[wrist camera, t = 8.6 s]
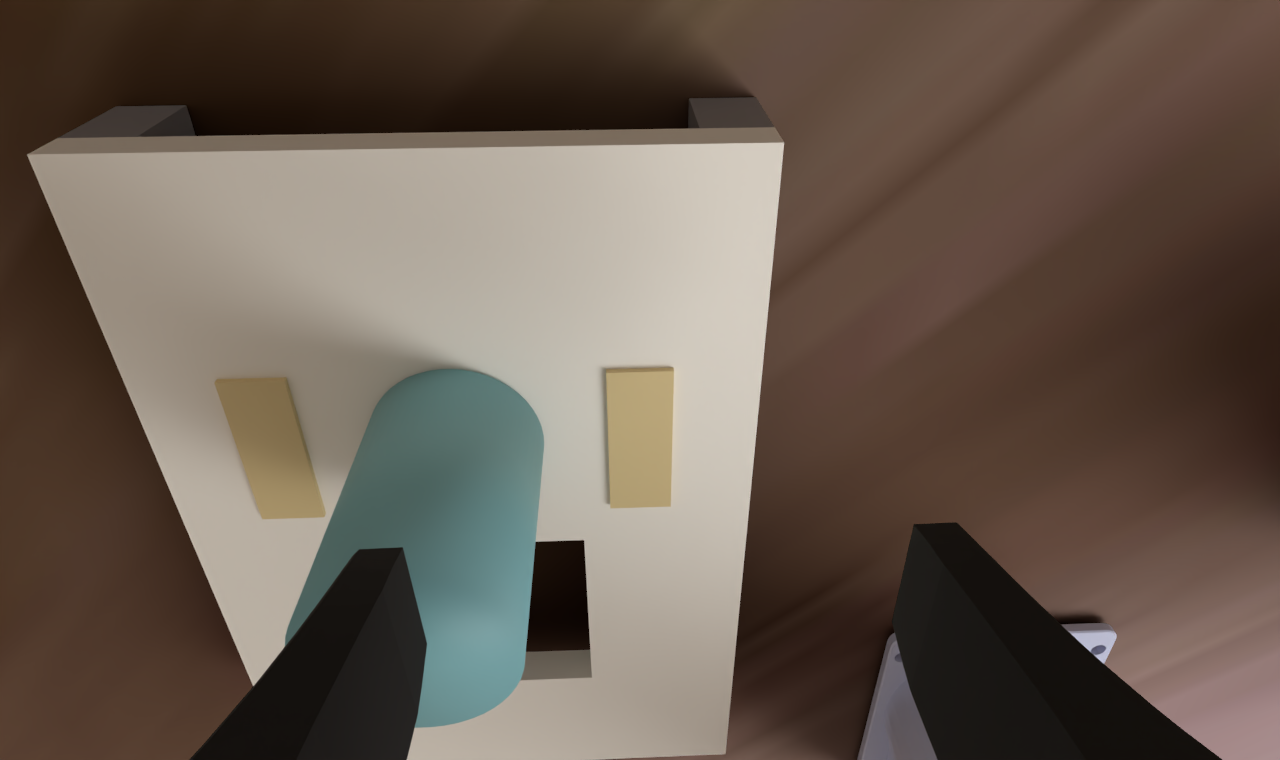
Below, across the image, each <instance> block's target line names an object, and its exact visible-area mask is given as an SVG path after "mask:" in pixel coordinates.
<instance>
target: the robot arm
mask: <svg viewBox="0 0 1280 760" xmlns="http://www.w3.org/2000/svg"><path fill="white" fill-rule="evenodd" d="M892 624H893V628H894V632H895V633H893V634H892V635H891V636H890V637H889V638H888V640H887V644H886V648H885V652H884V656H883V660H882V664H881V668H880V672H879V676H878V680H877V683H876V687H875V691H874V695H873V699H872V703H871V707H870V711H869V715H868V719H867V723H866V727H865V731H864V735H863V739H862V743H861V747H860V751H859V755H858V759H857V760H1222V759H1221V758H1219V757H1218V756H1217V755H1215V754H1214V753H1213V752H1211V751H1210V750H1209V749H1207V748H1206V747H1205V746H1203V745H1202V744H1201V743H1200V742H1198V741H1197V740H1196V739H1194V738H1193V737H1192V736H1190V735H1189V734H1188V733H1186V732H1185V731H1184V730H1182V729H1181V728H1180V727H1179V726H1177V725H1176V724H1175V723H1174V722H1172V721H1171V720H1170V719H1169V718H1167V717H1166V716H1165V715H1164V714H1162V713H1161V712H1160V711H1159V710H1157V709H1156V708H1155V707H1154V706H1152V705H1151V704H1150V703H1149V702H1148V701H1147V700H1145V699H1144V698H1143V697H1142V696H1141V695H1140V694H1138V693H1137V692H1136V691H1135V690H1134V689H1132V688H1131V687H1130V686H1129V685H1128V684H1127V683H1125V682H1124V681H1123V680H1122V679H1121V678H1120V677H1118V676H1117V675H1116V674H1115V673H1114V672H1112V671H1111V670H1110V669H1109V668H1108V667H1107V666H1106V665H1104V663H1105V661H1106V659H1107V657H1108V654H1109V652H1110V650H1111V648H1112V646H1113V644H1114V642H1115V640H1116V637H1117V635H1116V633H1115V631H1114V630H1113V628H1112V627H1111V625H1109V624H1106V623H1085V624H1060V623H1059V622H1058V621H1057V620H1055V619H1054V618H1053V617H1052V616H1051V615H1050V614H1049V613H1048V612H1047V611H1046V610H1045V609H1044V608H1043V607H1042V606H1041V605H1040V604H1039V603H1038V602H1037V601H1036V600H1035V599H1034V598H1032V597H1031V596H1030V595H1029V594H1028V593H1027V592H1026V591H1025V590H1024V589H1023V588H1022V587H1021V586H1020V585H1019V584H1018V583H1017V582H1016V581H1015V580H1014V579H1013V578H1012V577H1011V576H1010V575H1009V574H1008V573H1007V572H1006V571H1005V570H1004V569H1003V568H1002V567H1001V566H1000V565H999V564H998V563H997V562H996V561H995V560H994V559H993V558H992V557H991V556H990V555H989V554H988V553H987V552H986V551H985V550H984V549H983V548H982V547H981V546H980V545H979V544H978V543H977V542H976V541H975V540H974V539H973V538H972V537H971V536H970V535H969V534H968V533H967V532H966V531H965V530H964V529H963V528H962V527H961V526H960V525H959V524H958V523H935V524H914V526H913V531H912V535H911V540H910V544H909V548H908V553H907V557H906V562H905V566H904V571H903V575H902V579H901V584H900V588H899V593H898V597H897V601H896V606H895V610H894V615H893V619H892ZM426 649H427V641H426V637H425V633H424V629H423V625H422V621H421V617H420V613H419V609H418V605H417V601H416V597H415V593H414V590H413V586H412V582H411V578H410V574H409V570H408V566H407V562H406V558H405V554H404V550H403V547H397V548H375V549H359V550H358V551H357V552H356V553H355V554H354V555H353V556H352V557H351V558H350V560H349V561H348V563H347V564H346V565H345V567H344V568H343V570H342V571H341V572H340V574H339V575H338V576H337V578H336V579H335V581H334V582H333V583H332V585H331V586H330V588H329V589H328V590H327V592H326V593H325V594H324V596H323V597H322V598H321V600H320V601H319V603H318V604H317V605H316V607H315V608H314V609H313V611H312V612H311V613H310V615H309V616H308V617H307V619H306V620H305V621H304V623H303V624H302V625H301V627H300V628H299V629H298V631H297V632H296V633H295V635H294V636H293V637H292V638H291V640H290V641H289V642H288V643H287V645H286V646H285V647H284V648H283V650H282V651H281V652H280V654H279V655H278V656H277V657H276V659H275V660H274V661H273V662H272V664H271V665H270V666H269V667H268V669H267V670H266V671H265V672H264V674H263V675H262V676H261V678H260V679H259V680H258V681H257V682H256V684H255V685H254V686H253V687H252V689H251V690H250V691H249V692H248V693H247V695H246V696H245V697H244V698H243V699H242V700H241V701H240V703H239V704H238V705H237V706H236V707H235V708H234V710H233V711H232V712H231V713H230V714H229V715H228V717H227V718H226V719H225V720H224V721H223V722H222V723H221V725H220V726H219V727H218V728H217V729H216V730H215V732H214V733H213V734H212V735H211V736H210V737H209V739H208V740H207V741H206V742H205V743H204V744H203V745H202V747H201V748H200V749H199V750H198V751H197V752H196V753H195V754H194V755H193V756H192V757H191V759H190V760H407V757H408V753H409V749H410V745H411V741H412V737H413V732H414V728H415V724H416V720H417V716H418V710H419V703H420V696H421V689H422V681H423V673H424V665H425V657H426Z"/></svg>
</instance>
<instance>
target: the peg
mask: <svg viewBox="0 0 1280 760" xmlns="http://www.w3.org/2000/svg"><path fill="white" fill-rule="evenodd" d="M543 453H544V435H543V430H542V426H541V424H540V421H539V419H538V417H537V415H536V413H535V412H534V410H533V409H532V407H531V406H530V405H529V404H528V402H527V401H526V400H525V399H524V398H523V397H522V396H521V395H520V394H519V393H517V392H516V391H515V390H513V389H512V388H511V387H509V386H508V385H506V384H504V383H502V382H501V381H499V380H496V379H494V378H492V377H490V376H487V375H484V374H480V373H477V372H472V371H467V370H459V369H438V370H431V371H426V372H422V373H418V374H415V375H413V376H410V377H408V378H406V379H404V380H402V381H400V382H398V383H397V384H396V385H394V386H393V387H392V388H390V389H389V390H388V391H387V392H386V393H385V394H384V395H383V396H382V397H381V399H380V400H379V402H378V403H377V405H376V407H375V409H374V411H373V413H372V415H371V418H370V421H369V423H368V426H367V428H366V431H365V433H364V436H363V438H362V441H361V443H360V446H359V448H358V451H357V453H356V456H355V458H354V461H353V463H352V466H351V468H350V471H349V474H348V476H347V479H346V481H345V484H344V486H343V489H342V491H341V494H340V496H339V499H338V501H337V504H336V506H335V509H334V511H333V514H332V516H331V519H330V522H329V524H328V527H327V529H326V532H325V534H324V537H323V539H322V542H321V544H320V547H319V549H318V552H317V554H316V557H315V559H314V562H313V564H312V567H311V569H310V572H309V575H308V577H307V580H306V582H305V585H304V587H303V590H302V592H301V595H300V597H299V600H298V602H297V605H296V607H295V610H294V612H293V615H292V617H291V620H290V622H289V625H288V628H287V632H286V635H285V646H286V645H287V643H288V642H289V641H290V640H291V638H292V637H293V636H294V635H295V633H296V632H297V631H298V629H299V628H300V627H301V625H302V624H303V623H304V621H305V620H306V619H307V617H308V616H309V615H310V613H311V612H312V611H313V609H314V608H315V607H316V605H317V604H318V603H319V601H320V600H321V598H322V597H323V596H324V594H325V593H326V592H327V590H328V589H329V588H330V586H331V585H332V583H333V582H334V581H335V579H336V578H337V576H338V575H339V574H340V572H341V571H342V570H343V568H344V567H345V565H346V564H347V563H348V561H349V560H350V558H351V557H352V556H353V555H354V554H355V553H356V552H357V551H358V550H359V549H375V548H397V547H403V550H404V554H405V558H406V562H407V566H408V570H409V574H410V578H411V582H412V586H413V590H414V593H415V597H416V601H417V605H418V609H419V613H420V617H421V621H422V625H423V629H424V633H425V637H426V641H427V649H426V657H425V665H424V673H423V681H422V689H421V696H420V703H419V710H418V716H417V720H416V724H415V728H422V727H437V726H445V725H450V724H455V723H459V722H463V721H466V720H469V719H472V718H475V717H477V716H480V715H482V714H484V713H486V712H488V711H490V710H491V709H493V708H495V707H496V706H498V705H499V704H500V703H502V702H503V701H504V700H505V699H506V698H507V697H508V696H509V695H510V694H511V693H512V692H513V691H514V689H515V688H516V687H517V685H518V683H519V681H520V679H521V678H522V674H523V671H524V667H525V656H526V644H527V633H528V622H529V611H530V599H531V588H532V577H533V565H534V554H535V543H536V532H537V520H538V509H539V498H540V486H541V475H542V464H543Z"/></svg>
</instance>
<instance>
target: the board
mask: <svg viewBox="0 0 1280 760" xmlns="http://www.w3.org/2000/svg"><path fill="white" fill-rule="evenodd" d="M783 149H784V142H783V140H782V138H781V137H780V135H779V134H778V132H777V130H776V129H775V127H774V126H773V124H772V122H771V121H770V119H769V118H768V116H767V114H766V113H765V111H764V110H763V108H762V106H761V105H760V103H759V102H758V100H757V98H756V97H746V98H689V115H688V129H625V130H559V131H494V132H428V133H362V134H297V135H231V136H196V135H195V132H194V128H193V125H192V122H191V119H190V115H189V112H188V109H187V106H186V105H173V106H116V107H114V108H112V109H110V110H108V111H107V112H105V113H103V114H101V115H99V116H97V117H96V118H94V119H92V120H90V121H88V122H86V123H84V124H83V125H81V126H79V127H77V128H75V129H73V130H71V131H70V132H68V133H66V134H64V135H62V136H60V137H58V138H57V139H55V140H53V141H51V142H49V143H47V144H46V145H44V146H42V147H40V148H38V149H36V150H34V151H33V152H31V153H29V154H27V156H28V158H29V161H30V163H31V165H32V168H33V170H34V172H35V175H36V177H37V179H38V182H39V184H40V186H41V189H42V191H43V194H44V196H45V198H46V201H47V203H48V205H49V208H50V210H51V212H52V215H53V217H54V219H55V222H56V224H57V226H58V229H59V231H60V233H61V236H62V238H63V241H64V243H65V245H66V248H67V250H68V252H69V255H70V257H71V259H72V262H73V264H74V266H75V269H76V271H77V273H78V276H79V278H80V280H81V283H82V285H83V288H84V290H85V292H86V295H87V297H88V299H89V302H90V304H91V306H92V309H93V311H94V313H95V316H96V318H97V320H98V323H99V325H100V327H101V330H102V332H103V335H104V337H105V339H106V342H107V344H108V346H109V349H110V351H111V353H112V356H113V358H114V360H115V363H116V365H117V367H118V370H119V372H120V374H121V377H122V379H123V382H124V384H125V386H126V389H127V391H128V393H129V396H130V398H131V400H132V403H133V405H134V407H135V410H136V412H137V414H138V417H139V419H140V421H141V424H142V426H143V429H144V431H145V433H146V436H147V438H148V440H149V443H150V445H151V447H152V450H153V452H154V454H155V457H156V459H157V461H158V464H159V466H160V468H161V471H162V473H163V476H164V478H165V480H166V483H167V485H168V487H169V490H170V492H171V494H172V497H173V499H174V501H175V504H176V506H177V508H178V511H179V513H180V515H181V518H182V520H183V523H184V525H185V527H186V530H187V532H188V534H189V537H190V539H191V541H192V544H193V546H194V548H195V551H196V553H197V555H198V558H199V560H200V562H201V565H202V567H203V570H204V572H205V574H206V577H207V579H208V581H209V584H210V586H211V588H212V591H213V593H214V595H215V598H216V600H217V602H218V605H219V607H220V609H221V612H222V614H223V616H224V619H225V621H226V624H227V626H228V628H229V631H230V633H231V635H232V638H233V640H234V642H235V645H236V647H237V649H238V652H239V654H240V656H241V659H242V661H243V663H244V666H245V668H246V671H247V673H248V675H249V678H250V680H251V682H252V685H253V686H254V685H255V684H256V682H257V681H258V680H259V679H260V678H261V676H262V675H263V674H264V672H265V671H266V670H267V669H268V667H269V666H270V665H271V664H272V662H273V661H274V660H275V659H276V657H277V656H278V655H279V654H280V652H281V651H282V650H283V648H284V647H285V635H286V632H287V628H288V625H289V622H290V620H291V617H292V615H293V612H294V610H295V607H296V605H297V602H298V600H299V597H300V595H301V592H302V590H303V587H304V585H305V582H306V580H307V577H308V575H309V572H310V569H311V567H312V564H313V562H314V559H315V557H316V554H317V552H318V549H319V547H320V544H321V542H322V539H323V537H324V534H325V532H326V529H327V527H328V524H329V522H330V519H331V516H332V514H333V511H334V509H335V506H336V504H337V501H338V499H339V496H340V494H341V491H342V489H343V486H344V484H345V481H346V479H347V476H348V474H349V471H350V468H351V466H352V463H353V461H354V458H355V456H356V453H357V451H358V448H359V446H360V443H361V441H362V438H363V436H364V433H365V431H366V428H367V426H368V423H369V421H370V418H371V415H372V413H373V411H374V409H375V407H376V405H377V403H378V402H379V400H380V399H381V397H382V396H383V395H384V394H385V393H386V392H387V391H388V390H389V389H390V388H392V387H393V386H394V385H396V384H397V383H398V382H400V381H402V380H404V379H406V378H408V377H410V376H413V375H415V374H418V373H422V372H426V371H431V370H438V369H459V370H467V371H472V372H477V373H480V374H484V375H487V376H490V377H492V378H494V379H496V380H499V381H501V382H502V383H504V384H506V385H508V386H509V387H511V388H512V389H513V390H515V391H516V392H517V393H519V394H520V395H521V396H522V397H523V398H524V399H525V400H526V401H527V402H528V404H529V405H530V406H531V407H532V409H533V410H534V412H535V413H536V415H537V417H538V419H539V421H540V424H541V426H542V430H543V435H544V453H543V464H542V475H541V486H540V498H539V509H538V520H537V532H536V542H542V541H572V540H584V547H585V565H586V582H587V600H588V618H589V636H590V650H567V651H540V652H526V656H525V667H524V671H523V674H522V678H521V679H520V681H519V683H518V685H517V687H516V688H515V689H514V691H513V692H512V693H511V694H510V695H509V696H508V697H507V698H506V699H505V700H504V701H503V702H502V703H500V704H499V705H498V706H496V707H495V708H493V709H491V710H490V711H488V712H486V713H484V714H482V715H480V716H477V717H475V718H472V719H469V720H466V721H463V722H459V723H455V724H450V725H445V726H437V727H422V728H414V732H413V737H412V741H411V745H410V749H409V753H408V757H407V760H596V759H620V758H644V757H668V756H692V755H716V754H726V744H727V733H728V723H729V712H730V702H731V692H732V681H733V671H734V660H735V650H736V639H737V629H738V619H739V608H740V598H741V587H742V577H743V566H744V556H745V546H746V535H747V525H748V514H749V504H750V493H751V483H752V473H753V462H754V452H755V441H756V431H757V420H758V410H759V399H760V389H761V379H762V368H763V358H764V347H765V337H766V326H767V316H768V306H769V295H770V285H771V274H772V264H773V253H774V243H775V233H776V222H777V212H778V201H779V191H780V180H781V170H782V160H783Z"/></svg>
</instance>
